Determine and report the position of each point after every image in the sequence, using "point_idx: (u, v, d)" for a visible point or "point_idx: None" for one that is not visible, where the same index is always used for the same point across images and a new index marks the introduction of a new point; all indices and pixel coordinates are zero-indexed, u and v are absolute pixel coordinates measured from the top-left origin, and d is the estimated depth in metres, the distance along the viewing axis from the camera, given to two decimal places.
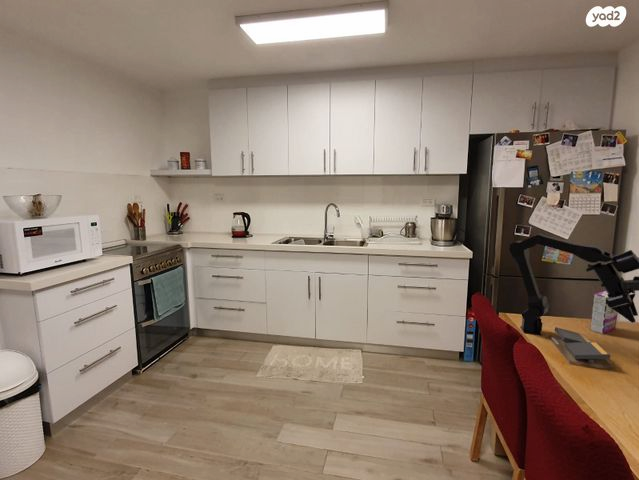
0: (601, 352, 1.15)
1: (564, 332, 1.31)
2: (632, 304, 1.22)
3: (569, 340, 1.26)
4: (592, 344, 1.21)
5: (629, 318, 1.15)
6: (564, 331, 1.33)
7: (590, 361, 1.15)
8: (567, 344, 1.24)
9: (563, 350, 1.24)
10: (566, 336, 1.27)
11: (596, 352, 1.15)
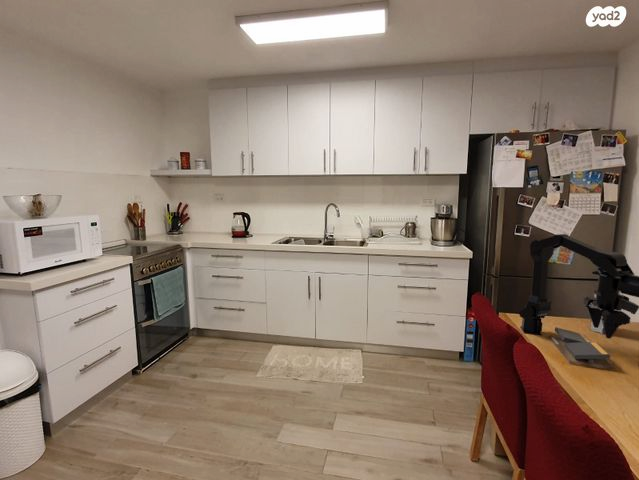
0: (601, 352, 1.15)
1: (564, 332, 1.31)
2: (600, 317, 1.20)
3: (569, 340, 1.26)
4: (592, 344, 1.21)
5: (608, 334, 1.12)
6: (564, 331, 1.33)
7: (590, 361, 1.15)
8: (567, 344, 1.24)
9: (563, 350, 1.24)
10: (566, 336, 1.27)
11: (596, 352, 1.15)
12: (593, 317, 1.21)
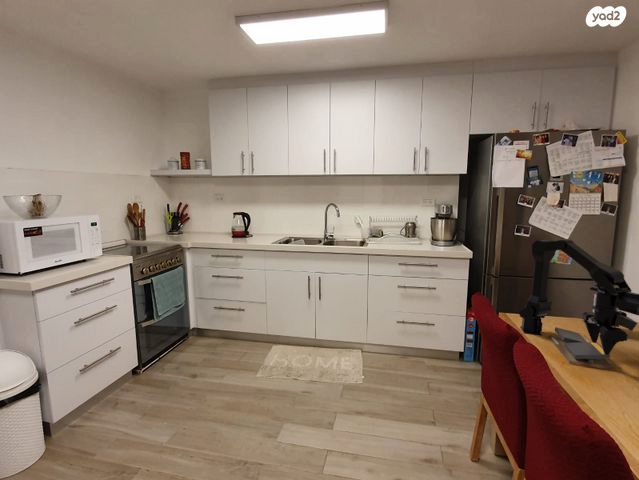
0: (601, 352, 1.15)
1: (564, 332, 1.31)
2: (598, 332, 1.21)
3: (569, 340, 1.26)
4: (592, 344, 1.21)
5: (606, 350, 1.13)
6: (564, 331, 1.33)
7: (590, 361, 1.15)
8: (567, 344, 1.24)
9: (563, 350, 1.24)
10: (566, 336, 1.27)
11: (596, 352, 1.15)
12: (592, 332, 1.22)
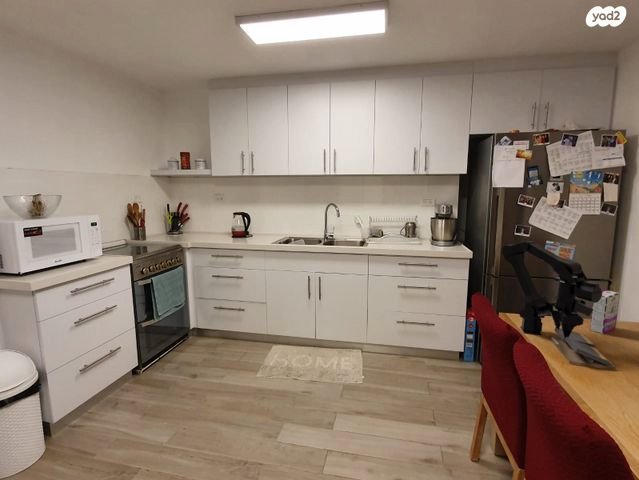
0: (601, 357, 1.15)
1: None
2: None
3: None
4: (593, 348, 1.21)
5: (566, 334, 1.25)
6: None
7: (590, 361, 1.15)
8: (569, 339, 1.23)
9: (563, 350, 1.24)
10: None
11: (597, 355, 1.15)
12: (555, 318, 1.35)
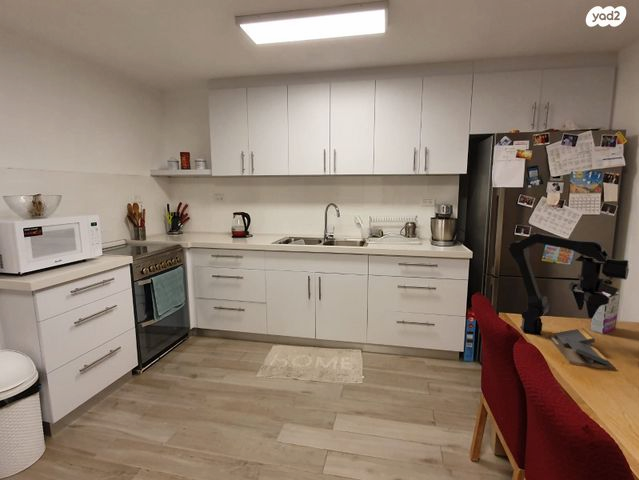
0: (601, 357, 1.15)
1: (563, 336, 1.31)
2: (583, 300, 1.32)
3: None
4: (593, 348, 1.21)
5: (590, 314, 1.23)
6: (563, 334, 1.33)
7: (590, 361, 1.15)
8: (569, 339, 1.23)
9: (563, 350, 1.24)
10: (565, 341, 1.27)
11: (597, 355, 1.15)
12: (578, 300, 1.32)
